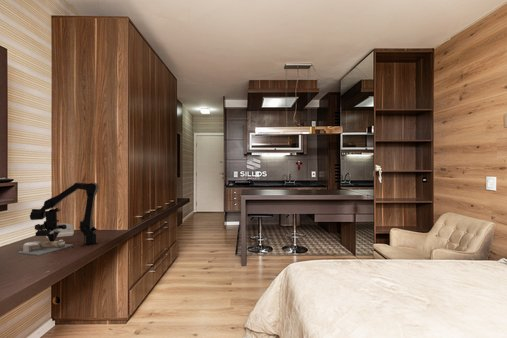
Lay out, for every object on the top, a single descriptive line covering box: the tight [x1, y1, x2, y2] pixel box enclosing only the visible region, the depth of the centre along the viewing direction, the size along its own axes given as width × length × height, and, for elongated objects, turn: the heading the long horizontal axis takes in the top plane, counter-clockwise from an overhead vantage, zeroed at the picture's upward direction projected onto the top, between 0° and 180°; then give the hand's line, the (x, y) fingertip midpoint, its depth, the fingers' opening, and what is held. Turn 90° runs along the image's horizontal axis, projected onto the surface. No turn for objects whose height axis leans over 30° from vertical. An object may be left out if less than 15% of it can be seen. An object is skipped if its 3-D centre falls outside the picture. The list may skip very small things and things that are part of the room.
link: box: [39, 240, 66, 247], centre depth 167 cm, size 15×4×3 cm, turn 85°
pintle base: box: [16, 239, 75, 257], centre depth 164 cm, size 18×21×5 cm
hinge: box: [45, 222, 75, 239], centre depth 198 cm, size 17×5×10 cm, turn 119°
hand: (52, 243), depth 170 cm, fingers closed
